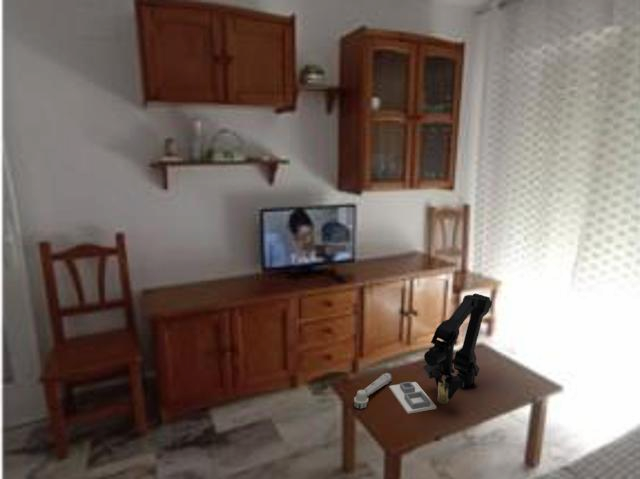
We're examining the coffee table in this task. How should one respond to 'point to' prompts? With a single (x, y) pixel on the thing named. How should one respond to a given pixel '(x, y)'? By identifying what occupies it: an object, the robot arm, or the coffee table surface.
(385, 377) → the white handheld shower head
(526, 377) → the coffee table surface
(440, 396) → the gold metallic cylinder
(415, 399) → the white socket board
